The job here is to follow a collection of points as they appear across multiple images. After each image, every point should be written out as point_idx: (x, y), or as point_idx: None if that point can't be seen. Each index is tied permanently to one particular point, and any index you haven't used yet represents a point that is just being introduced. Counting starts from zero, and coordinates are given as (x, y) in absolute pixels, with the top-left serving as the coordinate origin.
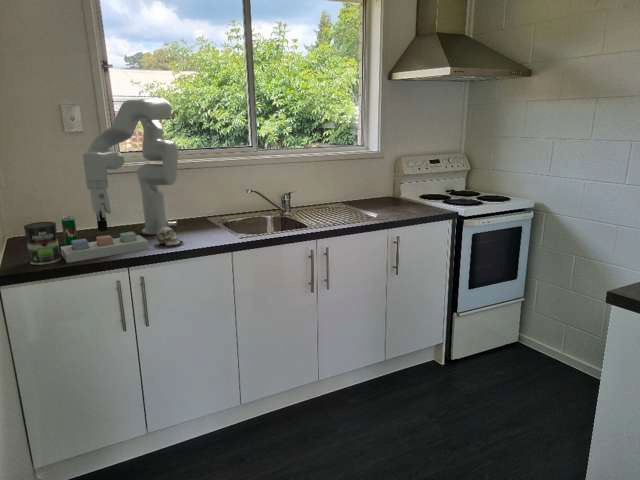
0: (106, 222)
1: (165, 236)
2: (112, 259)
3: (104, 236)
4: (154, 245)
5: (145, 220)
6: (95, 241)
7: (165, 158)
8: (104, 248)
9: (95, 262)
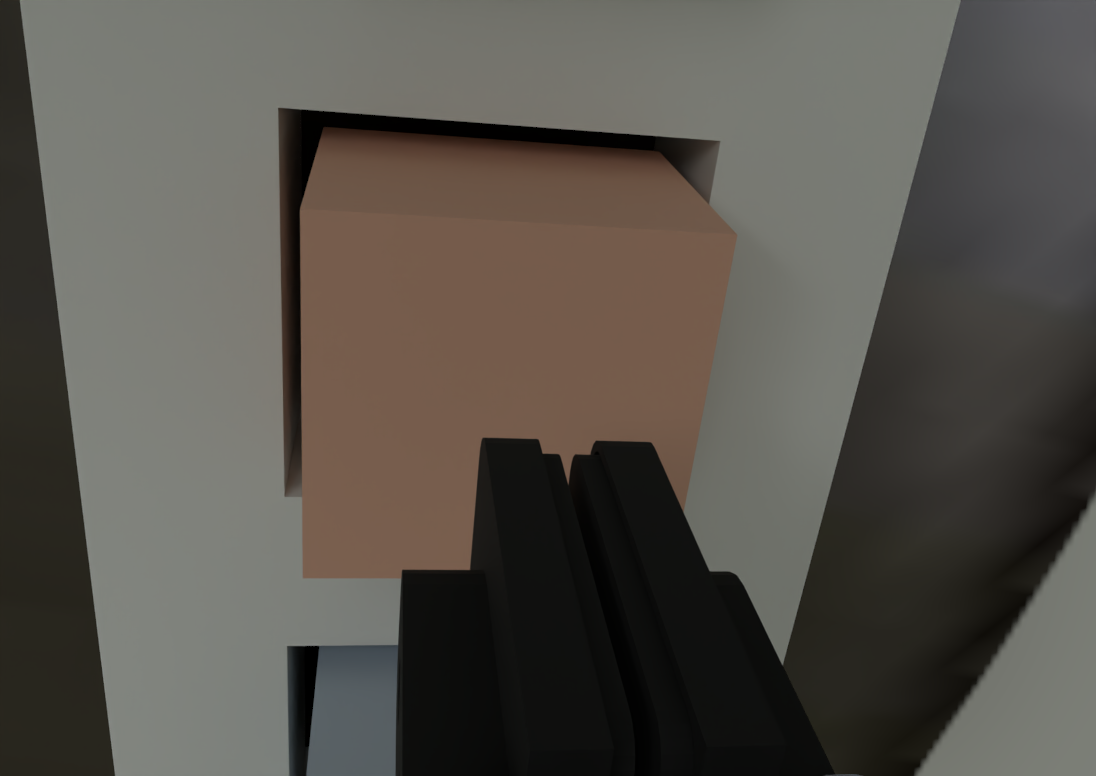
0: (748, 674)
1: None
2: (1060, 305)
3: (418, 390)
4: None
5: None
6: (79, 457)
7: None
8: (834, 425)
9: (973, 550)
